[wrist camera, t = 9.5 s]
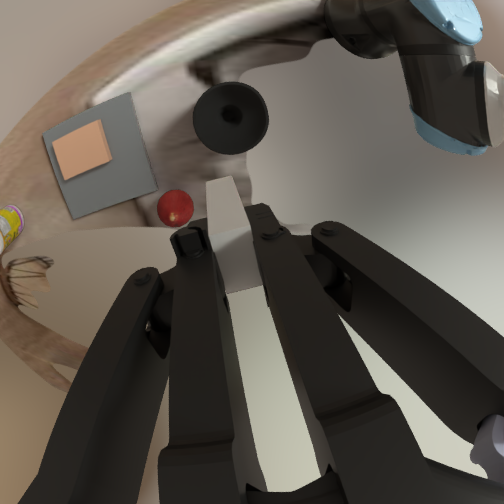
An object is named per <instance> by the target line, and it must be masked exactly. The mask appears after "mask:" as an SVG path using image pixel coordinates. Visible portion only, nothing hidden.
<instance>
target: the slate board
mask: <svg viewBox="0 0 504 504" xmlns="http://www.w3.org/2000/svg"><path fill="white" fill-rule="evenodd" d="M99 119H101V122H102V126H103V130H104V133H105V136H106V140H107V143H108V146H109V150H110V153H111V156H112V160H110V161H109V162H106V163H104V164H101V165H99V166H96V167H94V168H91V169H89V170H87V171H84V172H82V173H80V174H78V175H75V176H73V177H71V178H69V179H67V180H64V177H63V174H62V171H61V169H60V166H59V163H58V160H57V157H56V154H55V150H54V147H53V144H52V142H54V141H55V140H57V139H59V138H61V137H63V136H65V135H67V134H69V133H71V132H73V131H75V130H77V129H79V128H81V127H83V126H85V125H87V124H89V123H92V122H94V121H96V120H99ZM42 134H43V137H44V141H45V144H46V148H47V151H48V154H49V157H50V160H51V163H52V166H53V169H54V172H55V174H56V177H57V180H58V183H59V185H60V188H61V191H62V193H63V196H64V198H65V201H66V203H67V205H68V208H69V210H70V213H71V215H72V217H73V219H77V218H79V217H82V216H84V215H87V214H90V213H92V212H95V211H98V210H100V209H103V208H106V207H109V206H112V205H114V204H117V203H120V202H123V201H126V200H129V199H132V198H135V197H138V196H141V195H144V194H148V193H151V192H154V191H157V190H158V186H157V183H156V180H155V177H154V174H153V171H152V168H151V164H150V161H149V158H148V154H147V151H146V148H145V144H144V141H143V137H142V134H141V130H140V127H139V123H138V119H137V116H136V112H135V108H134V104H133V100H132V96H131V92H128V93H125V94H123V95H120V96H118V97H115V98H113V99H110V100H108V101H106V102H103V103H101V104H99V105H96V106H94V107H92V108H90V109H88V110H86V111H83V112H81V113H79V114H77V115H75V116H73V117H71V118H69V119H67V120H66V121H64V122H62V123H60V124H58V125H56V126H54V127H53V128H51V129H49V130H47V131H46V132H44V133H42Z"/></svg>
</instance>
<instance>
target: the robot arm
mask: <svg viewBox="0 0 504 504" xmlns="http://www.w3.org/2000/svg"><path fill="white" fill-rule="evenodd" d="M324 16H325V21H326V24H327V26H328V29H329V31H330V32H331V34H332V35H333V37H334V38H335V39H336V41H337V42H338V43H339V44H340V45H341V46H342V47H344V48H345V49H346V50H348V51H349V52H351V53H353V54H354V55H357V56H359V57H363V58H367V59H378V58H384V57H388V56H390V55H392V54H393V53H395V52H396V51H398V53H399V57H400V61H401V65H402V68H403V72H404V77H405V81H406V86H407V90H408V95H409V100H410V105H409V106H410V110H411V112H412V114H413V119H414V124H415V128H416V131H417V133H418V134H419V135H420V136H421V137H422V138H423V139H424V140H425V141H426V142H428V143H429V144H431V145H433V146H435V147H437V148H440V149H442V150H445V151H448V152H452V153H456V154H461V155H465V154H469V155H480V154H483V153H484V152H485V151H486V148H487V146H492V147H497V146H498V145H499V144H500V143H502V142H503V141H504V75H502V74H500V73H499V72H498V71H497V70H496V69H495V68H494V67H493V66H492V65H491V64H490V63H489V62H484V61H477V59H476V57H474V56H475V52H474V48H473V45H475V44H476V43H478V42H479V41H480V40H481V38H482V33H481V31H482V30H483V27H482V22H481V19H480V15H479V13H478V11H477V9H476V7H475V5H474V3H473V1H472V0H327V1H326V3H325V8H324ZM402 55H403V56H402ZM206 200H207V218H203V219H199V220H195V221H192V222H190V223H189V224H188V225H187V227H184V228H181V229H179V230H178V231H176V232H175V233H174V234H172V235H171V237H170V241H171V244H172V246H173V249H174V252H175V254H176V257H177V263H176V266H175V267H173V268H172V269H170V270H168V271H166V272H163V273H161V274H159V272H158V269H156V268H154V267H147V268H142V269H140V270H138V271H136V272H135V273H133V274H132V275H131V276H130V277H129V279H127V281H126V283H125V284H124V286H123V288H122V289H121V291H120V293H119V295H118V296H117V298H116V300H115V301H114V303H113V305H112V307H111V309H110V310H109V312H108V314H107V316H106V317H105V319H104V321H103V323H102V325H101V327H100V328H99V330H98V332H97V334H96V336H95V338H94V340H93V342H92V344H91V345H90V347H89V349H88V351H87V353H86V355H85V357H84V359H83V361H82V364H81V366H80V368H79V370H78V372H77V374H76V376H75V378H74V380H73V383H72V385H71V387H70V389H69V392H68V394H67V396H66V399H65V401H64V403H63V406H62V408H61V410H60V413H59V415H58V418H57V420H56V423H55V425H54V428H53V431H52V434H51V436H50V439H49V442H48V444H47V447H46V450H45V453H44V456H43V459H42V462H41V466H40V468H39V472H38V475H37V476H36V477H35V479H34V480H33V482H32V483H31V485H30V486H29V488H28V489H27V490H26V492H25V493H24V495H23V496H22V498H21V499H20V501H19V502H18V504H136V503H137V500H138V495H139V490H140V486H141V481H142V476H143V473H144V468H145V464H146V460H147V456H148V451H149V448H150V443H151V439H152V436H153V431H154V428H155V424H156V420H157V416H158V413H159V409H160V405H161V401H162V398H163V394H164V390H165V387H166V383H167V380H168V377H169V443H168V446H167V447H165V448H164V449H162V450H161V452H160V454H159V457H158V485H159V500H160V504H504V337H503V336H502V335H500V334H499V333H498V332H497V331H495V330H494V329H493V328H492V327H491V326H490V325H488V324H487V323H486V322H485V321H483V320H482V319H481V318H480V317H478V316H477V315H476V314H475V313H473V312H472V311H471V310H469V309H468V308H467V307H465V306H464V305H463V304H462V303H460V302H459V301H458V300H456V299H455V298H454V297H452V296H451V295H450V294H448V293H447V292H445V291H444V290H443V289H441V288H440V287H438V286H437V285H436V284H434V283H433V282H432V281H430V280H429V279H427V278H426V277H424V276H423V275H421V274H420V273H418V272H417V271H416V270H414V269H413V268H411V267H410V266H408V265H407V264H406V263H404V262H402V261H401V260H400V259H398V258H396V257H395V256H393V255H392V254H390V253H389V252H387V251H386V250H384V249H383V248H381V247H380V246H378V245H376V244H375V243H373V242H372V241H370V240H368V239H367V238H365V237H363V236H362V235H360V234H359V233H357V232H356V231H354V230H352V229H351V228H349V227H347V226H345V225H344V224H342V223H339V222H333V221H325V222H322V223H319V224H317V225H315V226H313V228H312V229H311V235H303V236H300V235H299V236H297V235H291V233H290V231H289V230H288V229H287V228H286V227H283V226H280V224H279V222H278V220H277V219H276V217H275V215H274V214H273V212H272V210H271V209H270V207H269V206H268V205H265V204H263V203H260V204H256V205H252V206H247V207H243V204H242V202H241V199H240V196H239V194H238V191H237V188H236V186H235V183H234V180H233V178H232V175H231V176H227V177H223V178H219V179H215V180H211V181H207V182H206ZM261 285H263V287H264V291H265V296H266V301H267V305H268V307H270V311H271V314H272V317H273V320H274V323H275V327H276V330H277V333H278V336H279V340H280V343H281V346H282V349H283V352H284V355H285V359H286V362H287V365H288V368H289V371H290V374H291V378H292V381H293V384H294V387H295V390H296V393H297V396H298V400H299V403H300V406H301V409H302V412H303V416H304V419H305V422H306V425H307V428H308V431H309V434H310V438H311V441H312V444H313V447H314V451H315V455H316V460H317V464H318V467H319V471H320V474H321V477H320V478H318V479H317V480H315V481H313V482H311V483H309V484H308V485H305V486H303V487H302V488H299V489H297V490H295V491H292V492H268V491H267V486H266V482H265V479H264V476H263V473H262V470H261V468H260V465H259V461H258V458H257V453H256V448H255V443H254V438H253V434H252V429H251V424H250V419H249V414H248V408H247V403H246V398H245V393H244V388H243V382H242V377H241V371H240V367H239V361H238V355H237V349H236V344H235V338H234V331H233V326H232V319H231V314H230V307H229V302H228V299H227V296H226V293H227V294H229V293H233V292H237V291H241V290H245V289H249V288H253V287H257V286H261ZM225 290H226V292H225ZM337 313H338V314H339V315H340V316H341V317H342V318H343V319H344V320H345V321H346V322H347V323H348V324H349V325H350V326H351V327H352V328H353V330H354V331H356V332H357V333H358V335H359V336H361V338H362V339H363V340H364V341H365V342H366V343H367V344H368V345H370V347H371V348H372V349H373V350H374V351H375V352H376V353H377V354H378V355H379V356H380V357H381V358H382V359H383V360H384V361H385V362H386V363H387V364H388V365H389V366H390V367H391V368H392V369H393V370H394V371H395V372H396V373H397V374H398V375H399V376H400V378H401V379H402V380H403V381H404V382H405V383H406V384H407V385H408V386H409V387H410V388H411V389H412V390H413V391H414V392H415V393H416V394H417V395H418V396H419V397H420V398H421V400H422V401H423V402H424V403H425V404H426V405H427V406H428V407H429V408H430V409H431V410H432V411H433V412H434V413H435V414H436V415H437V416H438V418H439V419H441V421H442V422H443V423H444V424H445V425H446V426H447V427H449V428H450V429H451V430H452V431H453V432H454V433H456V434H457V435H458V436H460V437H461V438H463V439H464V440H465V441H467V442H469V443H471V444H473V445H474V447H473V449H472V450H471V453H470V459H471V461H472V462H473V463H475V464H479V465H480V466H481V467H482V468H483V469H484V470H485V471H486V473H487V476H488V479H485V478H482V477H479V476H476V475H472V474H469V473H466V472H463V471H461V470H458V469H455V468H452V467H449V466H446V465H444V464H441V463H439V462H436V461H434V460H431V459H428V458H426V457H424V456H423V454H422V452H421V449H420V447H419V445H418V443H417V441H416V439H415V437H414V435H413V433H412V431H411V429H410V427H409V425H408V423H407V421H406V419H405V417H404V415H403V413H402V411H401V409H400V407H399V405H398V404H397V402H396V401H395V399H393V398H392V397H391V396H390V395H387V394H382V393H381V392H380V391H379V390H378V388H377V387H376V385H375V383H374V381H373V379H372V377H371V375H370V373H369V371H368V369H367V367H366V365H365V364H364V361H363V360H362V358H361V356H360V354H359V352H358V350H357V348H356V347H355V345H354V343H353V341H352V339H351V337H350V335H349V334H348V332H347V330H346V328H345V326H344V325H343V323H342V321H341V319H340V317H339V315H338V314H337ZM147 324H148V327H147V329H146V325H147Z"/></svg>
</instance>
